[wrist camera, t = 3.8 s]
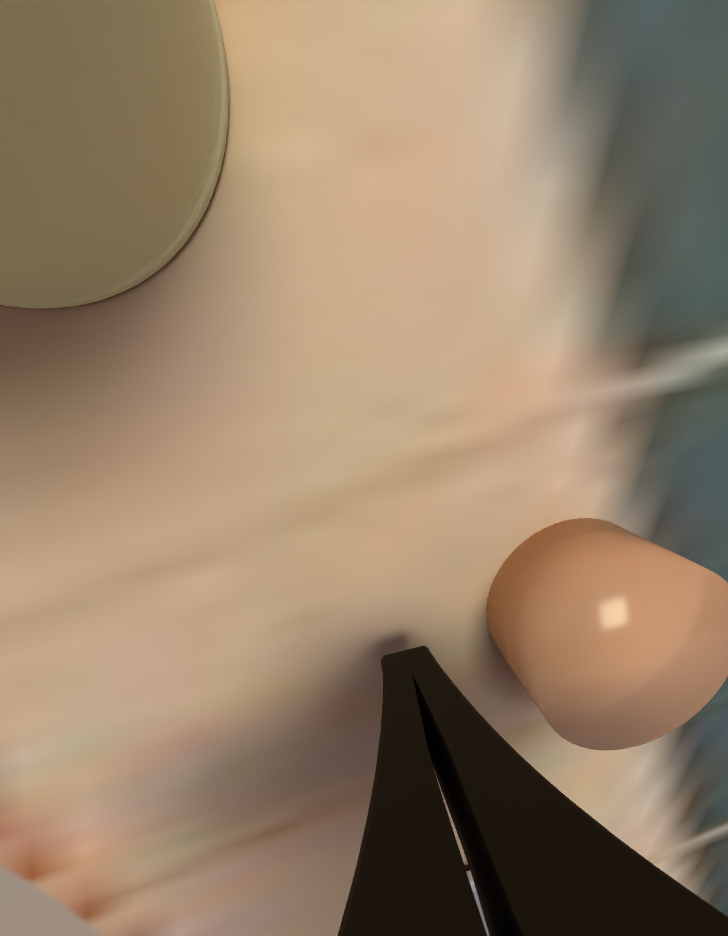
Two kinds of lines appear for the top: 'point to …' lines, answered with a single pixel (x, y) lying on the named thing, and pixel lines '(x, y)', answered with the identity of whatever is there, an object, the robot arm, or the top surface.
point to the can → (104, 142)
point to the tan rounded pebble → (610, 632)
